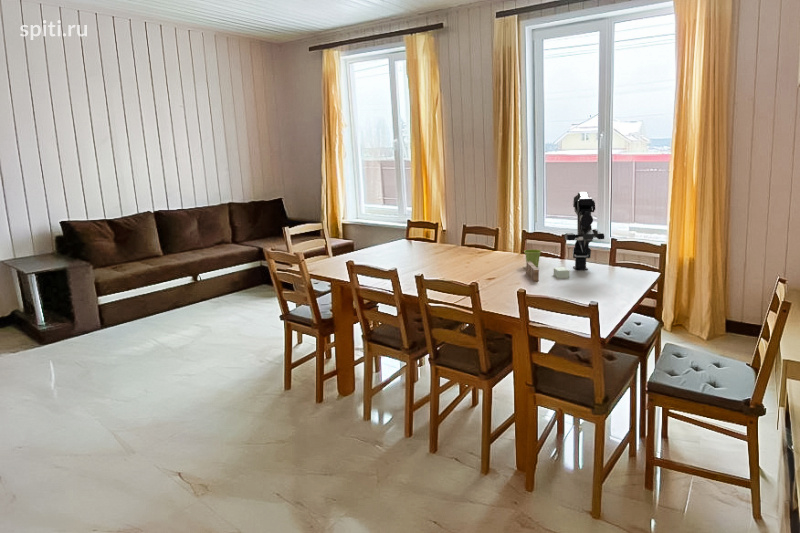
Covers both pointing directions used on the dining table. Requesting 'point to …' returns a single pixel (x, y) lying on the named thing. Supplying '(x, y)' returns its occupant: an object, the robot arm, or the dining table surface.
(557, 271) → the sage block
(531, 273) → the walnut batten
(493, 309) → the dining table surface
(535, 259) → the plant pot
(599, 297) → the dining table surface
